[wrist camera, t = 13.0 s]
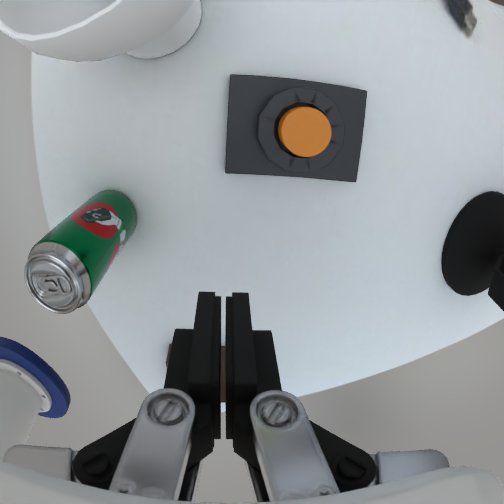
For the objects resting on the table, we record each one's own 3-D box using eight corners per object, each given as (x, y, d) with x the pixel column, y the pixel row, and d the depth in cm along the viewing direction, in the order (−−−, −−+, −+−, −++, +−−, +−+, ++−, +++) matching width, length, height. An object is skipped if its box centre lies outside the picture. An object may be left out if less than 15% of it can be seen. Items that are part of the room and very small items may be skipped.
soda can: (84, 192, 25) (9, 251, 15) (133, 184, 25) (70, 244, 15) (96, 242, 28) (36, 318, 17) (143, 237, 28) (96, 319, 17)
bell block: (225, 170, 25) (224, 178, 23) (230, 75, 22) (229, 71, 19) (351, 179, 26) (364, 188, 24) (361, 91, 23) (376, 90, 20)
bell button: (275, 151, 22) (278, 155, 21) (279, 104, 21) (283, 104, 19) (322, 155, 23) (328, 159, 21) (327, 109, 21) (334, 110, 19)
